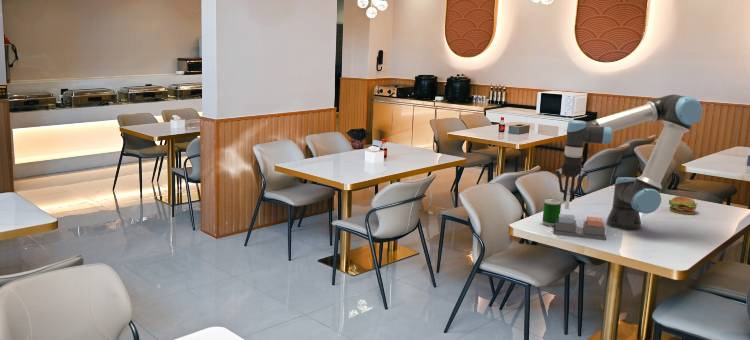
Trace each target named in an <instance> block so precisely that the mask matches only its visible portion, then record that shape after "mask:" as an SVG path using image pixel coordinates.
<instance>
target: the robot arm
mask: <svg viewBox="0 0 750 340" xmlns="http://www.w3.org/2000/svg"><path fill="white" fill-rule="evenodd" d="M703 112H704V110H703V105H702V103H701V102H700V101H699V100H698V99H696V98H695V97H692V96H689V95H687V96H686V95H679V94H668V95H663V96H661V97H659V98H658V97H657V98H656V99H655V98H654V99H651V100H648V101H646V103H645V104H643V105H640V106H636V107H633V108H629V109H627V110H626V109H625V110H624V111H620V112H617V113H613V114H610V115H606V116H603V117H601V118H597V119H593V120H590V121H584V120H577V119H576V120H575V119H572V120H569V121H568V123H567V127H566V137H565V146H564V156H563V163H562V165H561V168H559V169H556V170H555V172H556V175H557V178H558V185H559V192H560V193H562V194H563V198H562V199H563V201H564V204H565V205H564V209H565V210H569V208H570V203H572V202H573V197H574V195H577V194H578V193H579V190H580V188H581V185H582V183H583V180H584V178H585V177H586V176H587V173H586V172H584V171H583V170H582V159H583V158H582V156H583V151H584V144H595V145H596V144H597V145H608V144H610V143H612V141H613V137H614V133H613V132H616V131H619V130H623V129H627V128H630V127H632V126H636V125H639V124H643V123H647V122H650V121H651V122H653V123H654V122H657V121H658V122H659V121H662V124H663V128H662V130H661V133H660V134H659V137H658V138H657V141H656V143H655V145H654V148H653V149H652V151H651V154H650V157H649V158H648V161H647V163H646V164H645V167H644V169H643V171H642V174H641V175H640V176H638V177H630V176H629V177H628V176H627V177H626V176H624V177H623V176H621V177H617V178H616V180H615V183H614V190H613V191H614V193H613V199H612V202H613V203H612V207H611V210H610V212H609V214H608V217H607V219H606V225H608V226H610V227H612V228H614V229H615V228H617V229H620V230H628V231H629V230H631V231H632V230H633V231H636V230H640V229H641V227H642V221H641V217H640V214H646V215H647V214H651V213H653V212H655V211H657V209H659V207H660V205H662V197H661V192H662V189H663V187H662V184H661V183H662V180H663V179H664V177H665V175H666V172H667V170H668V168H669V165H670V163H671V162H672V160H673V157H674V155H675V153H676V152H677V149H678V147H679V145H680V143H681V141H682V138H683V136H684V134H685V133H688V132H690V130H691V128H692V127H693V125H695V124H697V123H699V121H700V120H702V117H703ZM562 174H564V175H565V182H564V187H563V180H562ZM578 175H579V179H578V181H577V184H576V187H575V183H576V182H575V180H576V177H577V176H578ZM570 178H571V184H570V191H569V193H568V187H569V179H570Z"/></svg>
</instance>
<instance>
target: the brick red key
mask: <svg viewBox="0 0 750 340" xmlns="http://www.w3.org/2000/svg"><path fill="white" fill-rule="evenodd" d="M585 221H586V224H587V226H594V227H603V223H604V219H603V218H602V217H595V216H586V220H585Z"/></svg>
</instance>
